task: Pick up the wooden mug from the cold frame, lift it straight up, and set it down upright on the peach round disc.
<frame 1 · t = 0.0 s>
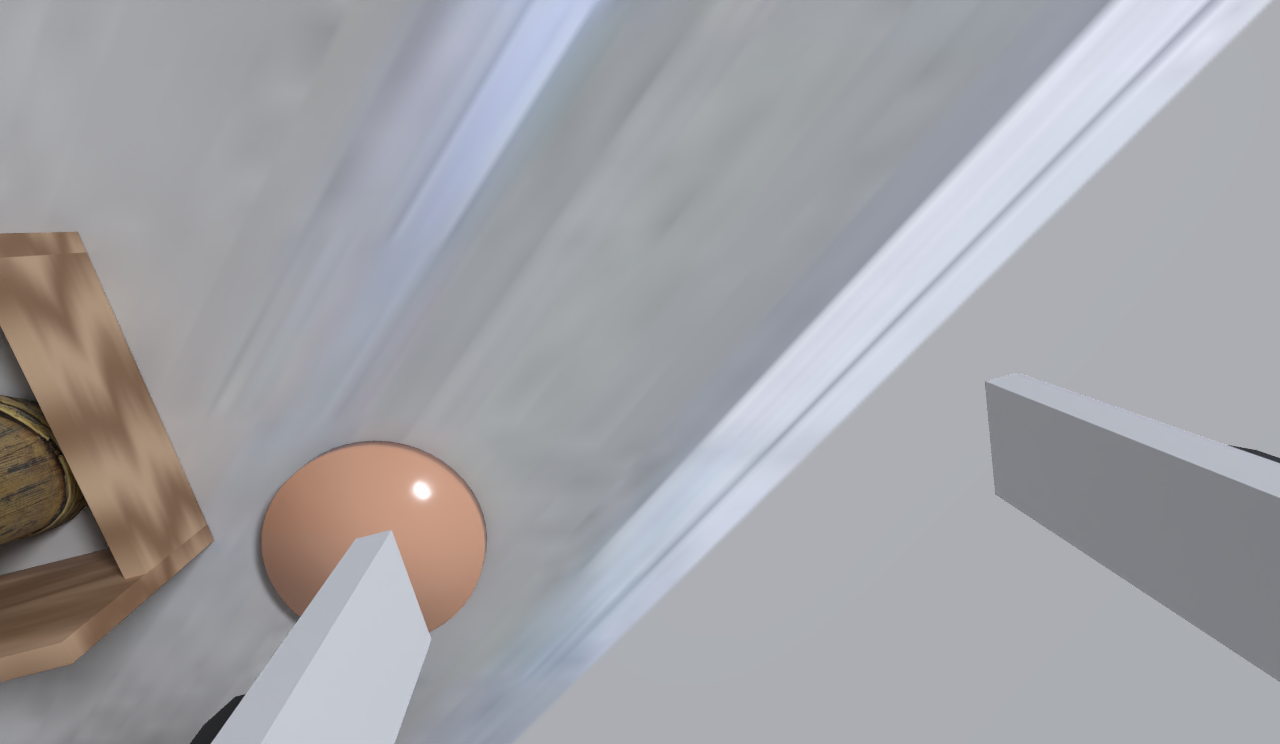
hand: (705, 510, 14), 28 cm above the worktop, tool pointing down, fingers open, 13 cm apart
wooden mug: (12, 428, 39), resting in cold frame
peach round disc: (381, 538, 43), on the worktop
cold frame: (9, 429, 39), on the worktop
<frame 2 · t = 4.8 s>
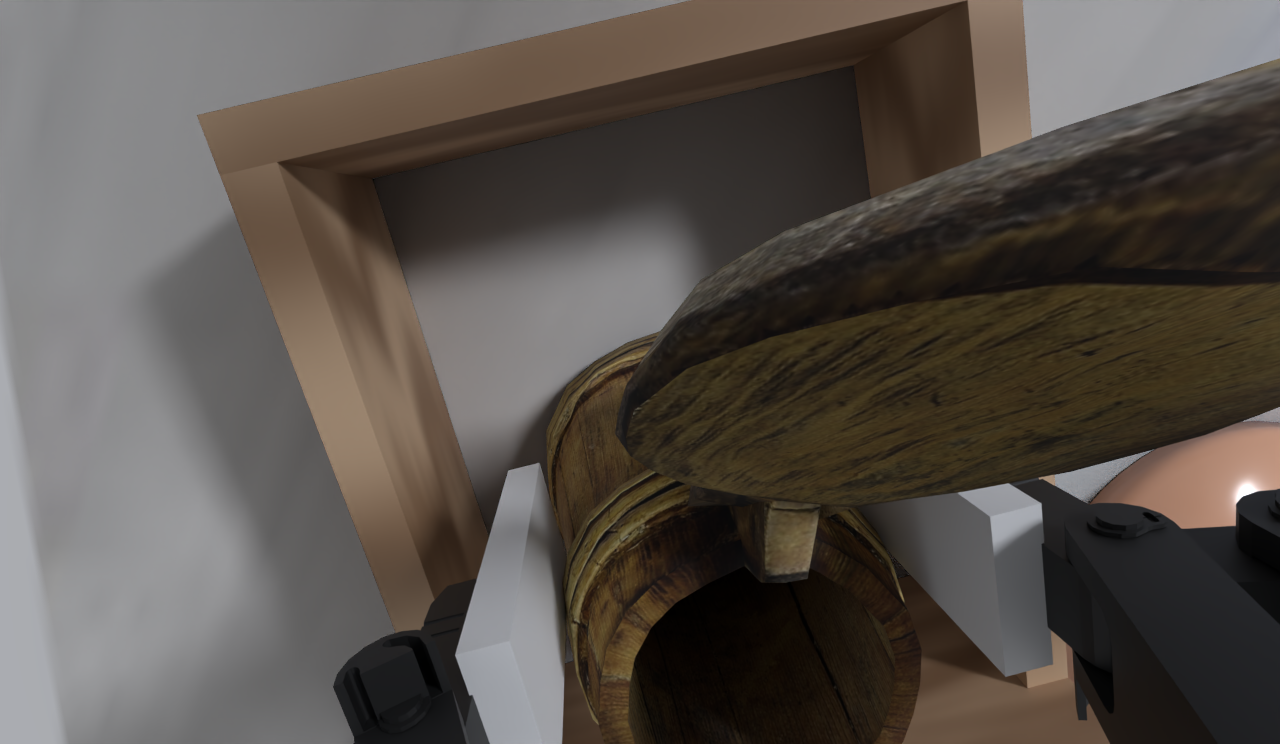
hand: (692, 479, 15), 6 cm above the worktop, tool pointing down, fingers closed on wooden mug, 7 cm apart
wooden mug: (679, 396, 22), resting in cold frame, touching gripper
peach round disc: (1210, 589, 25), on the worktop
cold frame: (677, 398, 21), on the worktop
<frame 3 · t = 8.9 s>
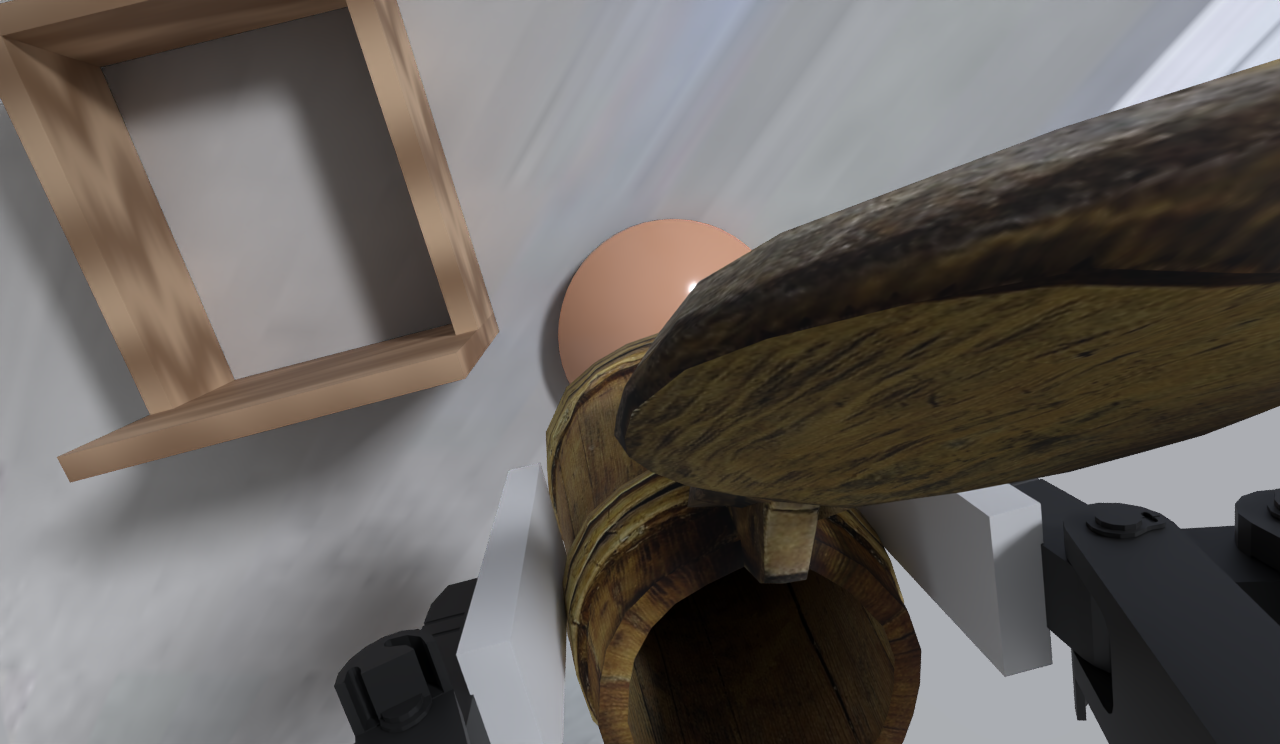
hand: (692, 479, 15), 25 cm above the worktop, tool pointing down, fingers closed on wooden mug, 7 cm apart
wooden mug: (678, 397, 22), point 19 cm above the worktop, touching gripper
peach round disc: (669, 332, 40), on the worktop
cold frame: (300, 200, 36), on the worktop
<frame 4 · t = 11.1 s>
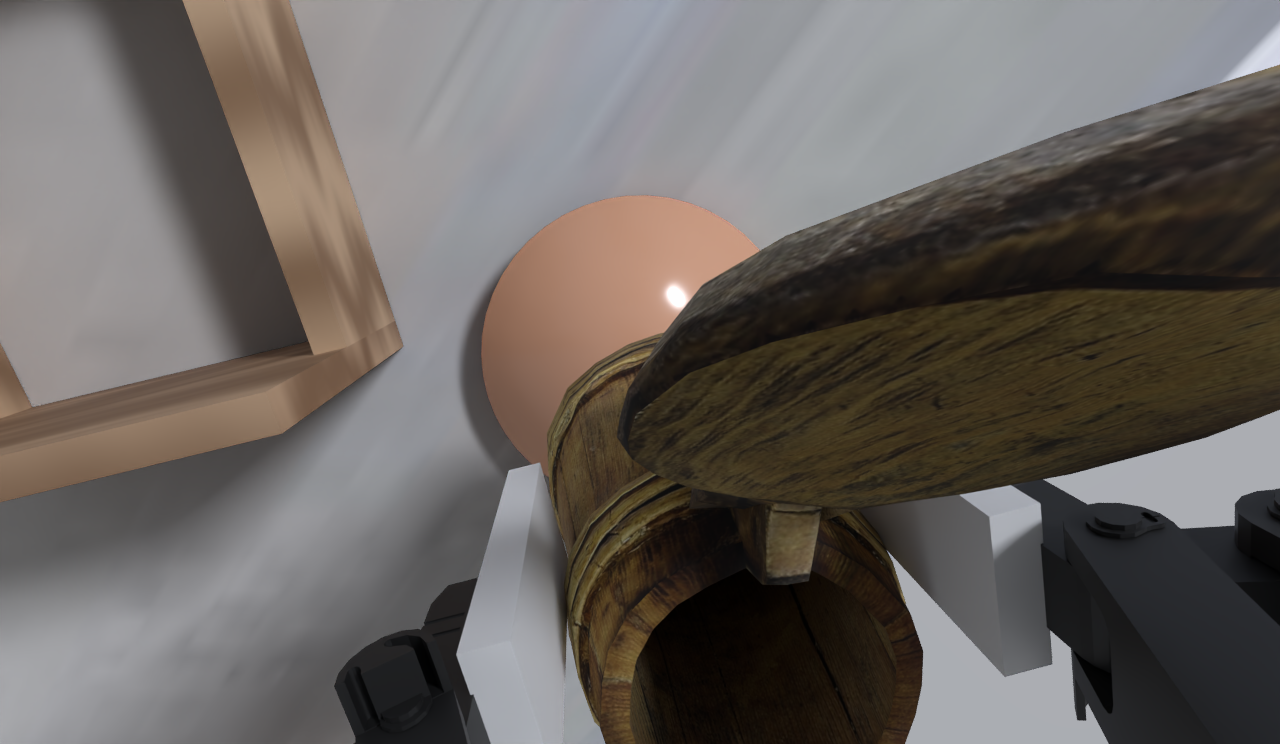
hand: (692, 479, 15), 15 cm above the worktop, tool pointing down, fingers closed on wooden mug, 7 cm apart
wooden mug: (679, 398, 22), point 8 cm above the worktop, touching gripper
peach round disc: (638, 351, 30), on the worktop
cold frame: (114, 158, 26), on the worktop
when the fingers open (9 cm above the worktop, at t = 13.0 s): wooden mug drops 1 cm, resting on peach round disc.
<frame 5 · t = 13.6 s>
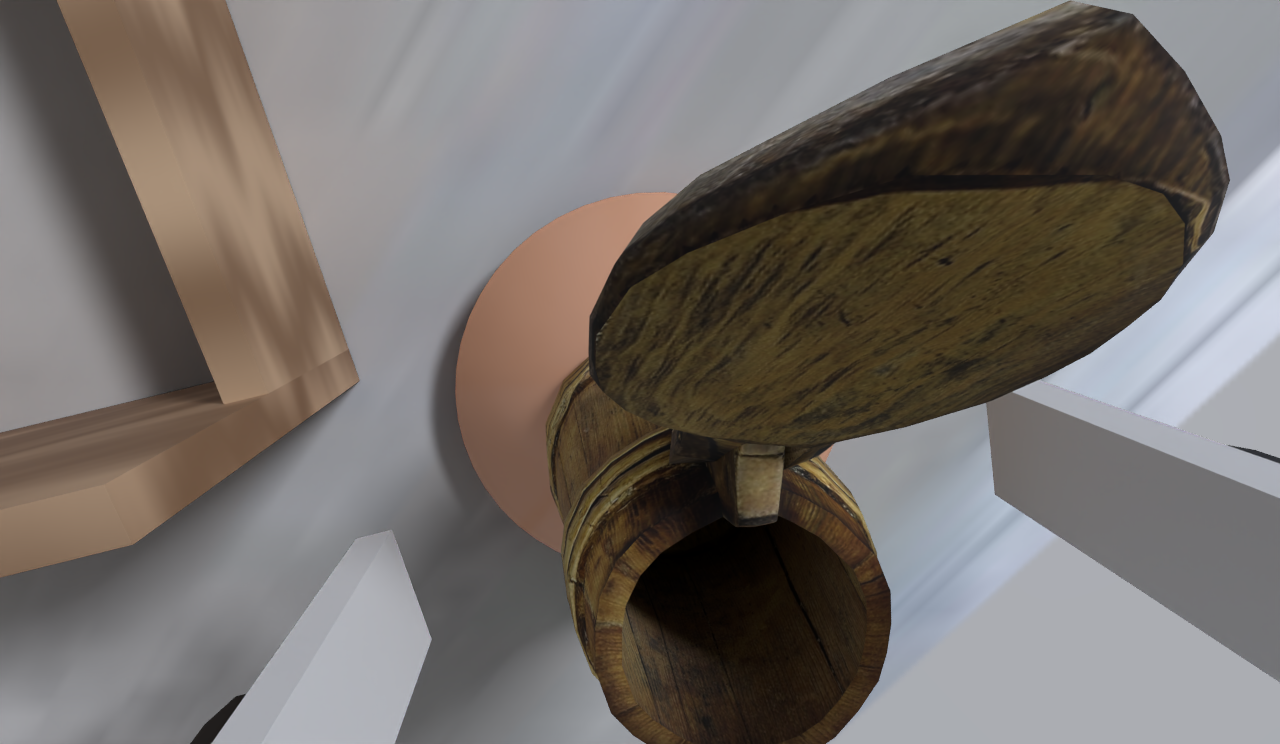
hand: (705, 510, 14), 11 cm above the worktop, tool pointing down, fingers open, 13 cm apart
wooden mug: (670, 388, 23), point 1 cm above the worktop, touching peach round disc
peach round disc: (651, 385, 24), on the worktop
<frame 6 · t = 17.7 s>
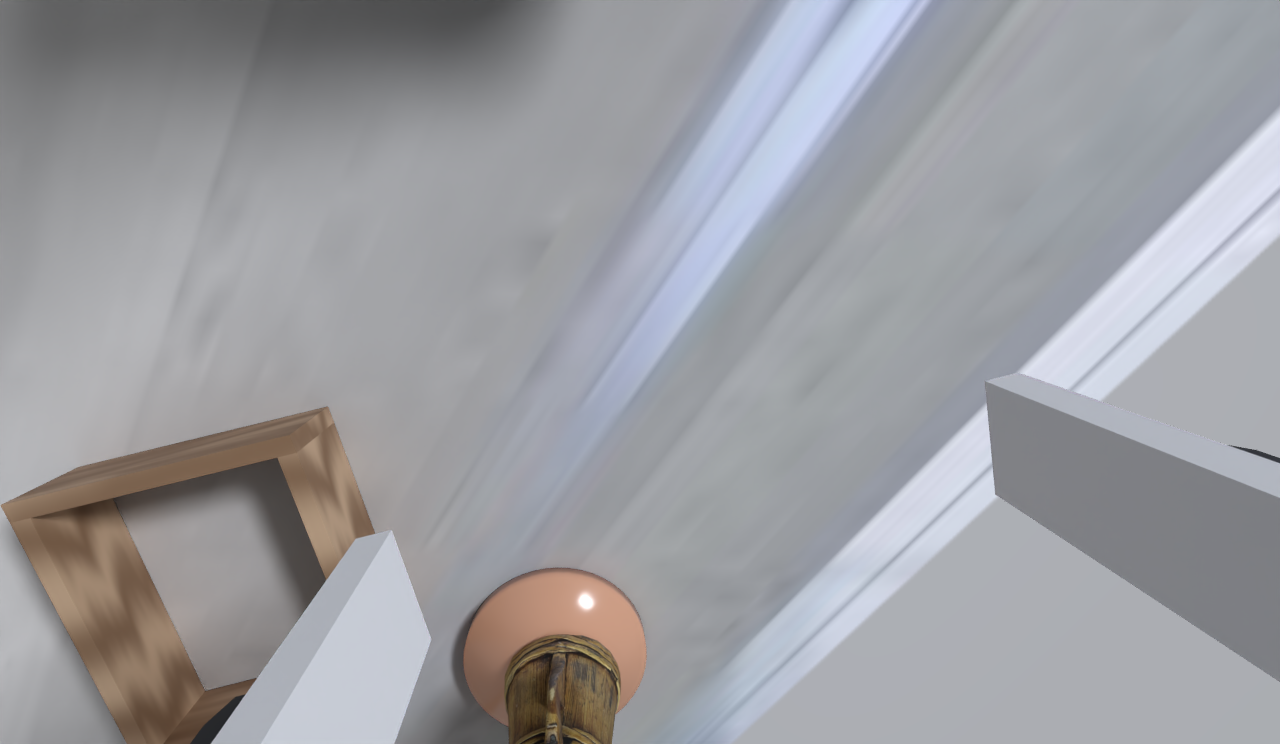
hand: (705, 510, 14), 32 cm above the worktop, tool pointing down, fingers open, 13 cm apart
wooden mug: (563, 655, 49), point 1 cm above the worktop, touching peach round disc
peach round disc: (556, 647, 50), on the worktop
cold frame: (258, 564, 46), on the worktop
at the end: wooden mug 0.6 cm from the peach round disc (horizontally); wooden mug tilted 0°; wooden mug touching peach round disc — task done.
